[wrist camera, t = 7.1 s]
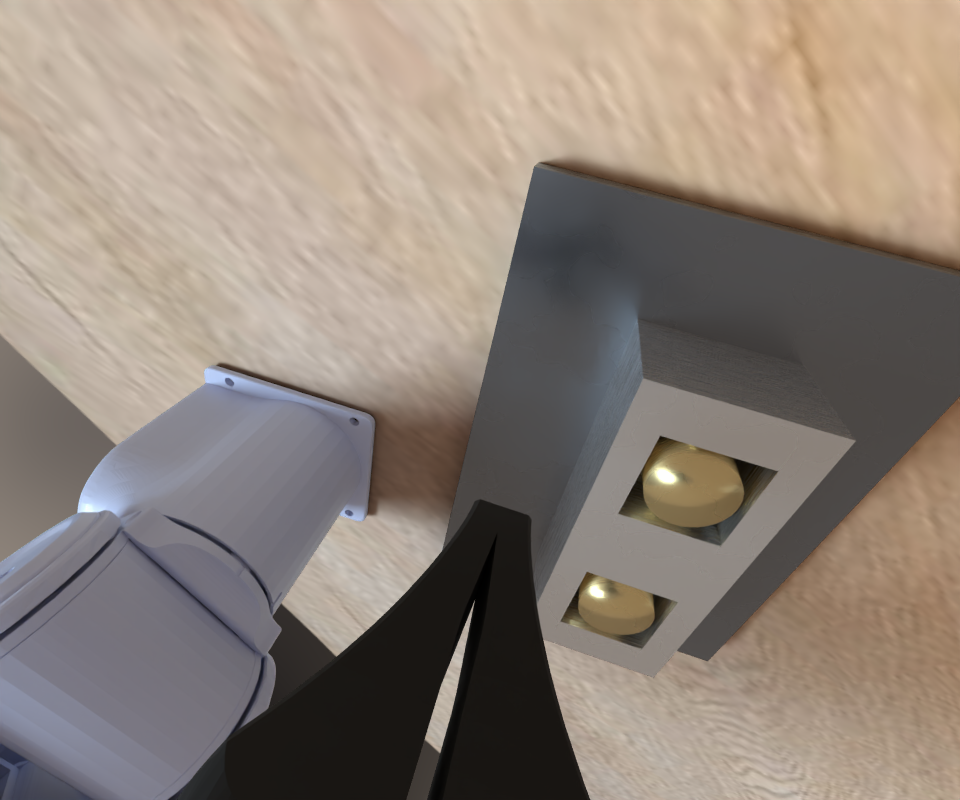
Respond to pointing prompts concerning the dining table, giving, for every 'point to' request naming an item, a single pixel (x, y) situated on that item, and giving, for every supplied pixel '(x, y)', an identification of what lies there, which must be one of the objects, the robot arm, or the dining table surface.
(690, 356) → the housing
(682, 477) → the pin
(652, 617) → the pin
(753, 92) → the dining table surface
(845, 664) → the dining table surface
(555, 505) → the plate
